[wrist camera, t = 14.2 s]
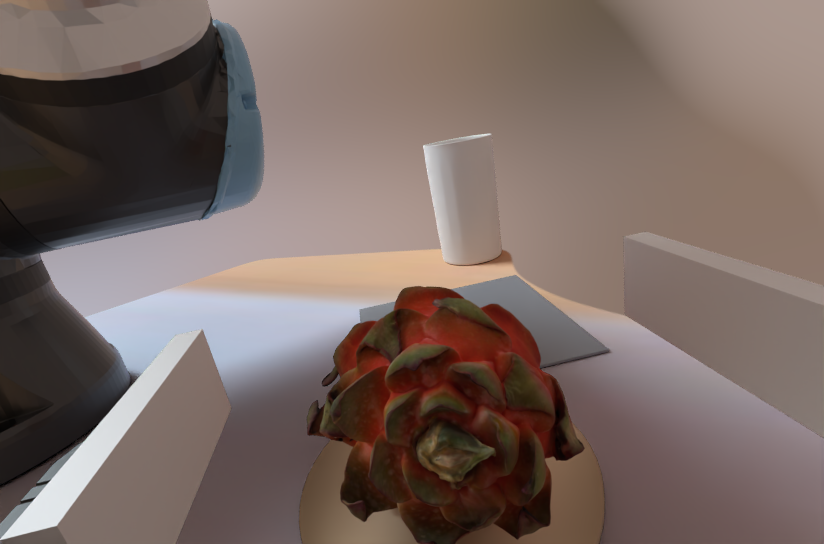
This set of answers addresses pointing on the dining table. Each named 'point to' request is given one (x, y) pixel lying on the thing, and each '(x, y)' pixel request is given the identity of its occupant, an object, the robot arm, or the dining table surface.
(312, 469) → the coaster
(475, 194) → the mug
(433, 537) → the dragon fruit
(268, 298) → the dining table surface
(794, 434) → the dining table surface
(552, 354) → the grey square tile
